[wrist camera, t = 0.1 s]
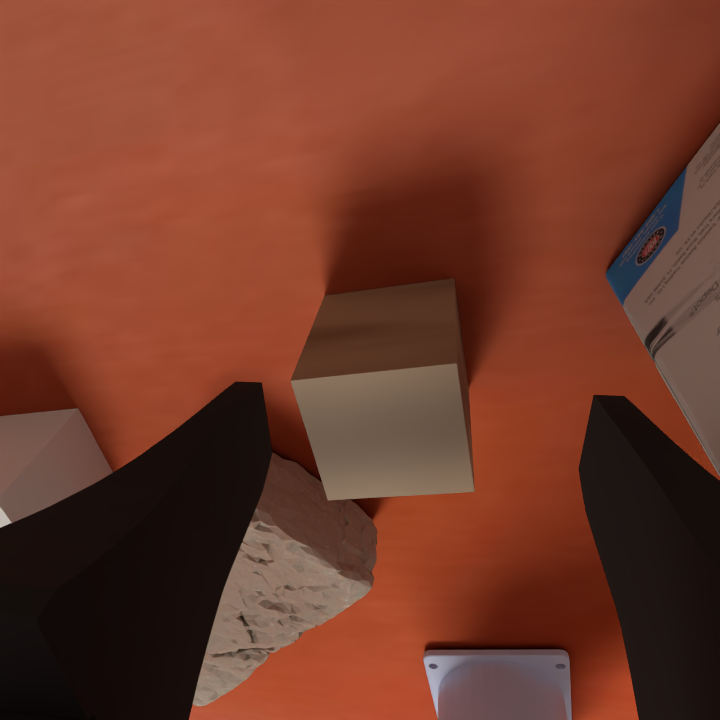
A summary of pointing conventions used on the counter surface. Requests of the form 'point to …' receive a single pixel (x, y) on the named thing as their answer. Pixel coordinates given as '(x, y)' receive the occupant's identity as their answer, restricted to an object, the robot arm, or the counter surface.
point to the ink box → (681, 291)
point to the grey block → (45, 461)
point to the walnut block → (387, 393)
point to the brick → (286, 575)
